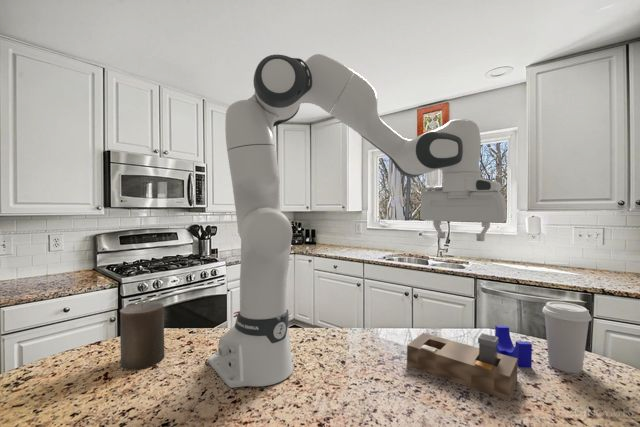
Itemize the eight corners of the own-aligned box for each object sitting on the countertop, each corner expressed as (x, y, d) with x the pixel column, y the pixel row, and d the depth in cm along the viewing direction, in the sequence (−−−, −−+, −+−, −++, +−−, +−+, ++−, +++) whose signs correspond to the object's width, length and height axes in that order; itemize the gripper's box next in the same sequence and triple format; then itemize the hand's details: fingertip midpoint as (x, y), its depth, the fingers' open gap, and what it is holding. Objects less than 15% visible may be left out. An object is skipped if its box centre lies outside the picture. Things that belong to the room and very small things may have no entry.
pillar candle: (168, 362, 78) (168, 302, 78) (122, 374, 72) (122, 310, 71) (159, 348, 85) (159, 294, 85) (117, 359, 79) (117, 301, 79)
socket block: (406, 364, 77) (407, 343, 77) (422, 350, 84) (423, 331, 84) (509, 401, 62) (509, 375, 62) (517, 380, 70) (517, 357, 70)
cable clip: (489, 346, 88) (489, 325, 88) (505, 346, 88) (506, 325, 88) (512, 367, 76) (512, 343, 76) (531, 368, 76) (531, 344, 76)
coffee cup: (533, 362, 78) (534, 303, 78) (553, 354, 83) (554, 298, 82) (578, 381, 70) (579, 315, 70) (598, 370, 74) (599, 309, 74)
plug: (477, 377, 69) (478, 337, 69) (481, 371, 72) (481, 333, 72) (494, 383, 67) (495, 342, 67) (497, 376, 70) (498, 337, 70)
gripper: (416, 186, 83) (415, 237, 83) (503, 182, 70) (502, 243, 70) (425, 187, 88) (425, 236, 88) (508, 184, 74) (508, 241, 75)
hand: (460, 239), depth 79 cm, fingers open, 8 cm apart
